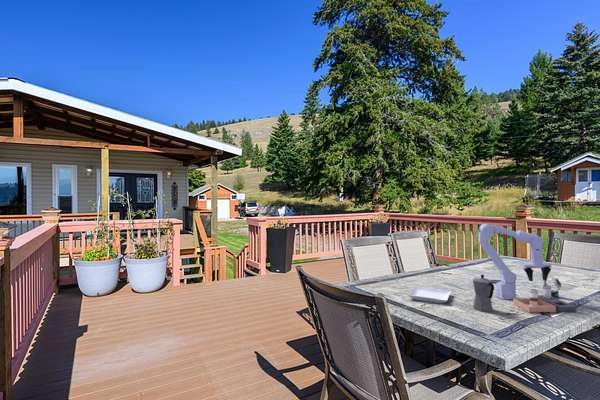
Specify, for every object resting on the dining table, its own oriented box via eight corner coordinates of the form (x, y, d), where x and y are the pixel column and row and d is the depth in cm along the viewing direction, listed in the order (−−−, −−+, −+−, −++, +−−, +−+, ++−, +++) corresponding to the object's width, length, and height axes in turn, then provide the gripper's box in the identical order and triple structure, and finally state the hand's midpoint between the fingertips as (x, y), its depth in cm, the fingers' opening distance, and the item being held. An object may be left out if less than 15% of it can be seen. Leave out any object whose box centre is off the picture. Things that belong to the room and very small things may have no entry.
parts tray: (529, 312, 172) (529, 306, 172) (513, 304, 185) (513, 298, 185) (555, 312, 171) (555, 306, 171) (538, 303, 185) (538, 298, 185)
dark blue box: (559, 299, 192) (559, 279, 192) (542, 296, 198) (542, 277, 198) (562, 297, 195) (562, 278, 195) (546, 294, 201) (545, 275, 201)
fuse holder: (559, 311, 172) (559, 306, 172) (533, 299, 192) (533, 295, 192) (576, 311, 172) (576, 306, 172) (548, 299, 192) (548, 295, 192)
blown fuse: (532, 308, 176) (532, 291, 176) (527, 306, 180) (527, 289, 180) (540, 308, 176) (539, 291, 176) (535, 306, 180) (534, 289, 180)
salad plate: (452, 295, 204) (452, 290, 204) (447, 306, 186) (447, 299, 186) (415, 291, 215) (415, 285, 215) (407, 300, 196) (407, 294, 196)
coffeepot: (466, 305, 185) (466, 272, 185) (483, 304, 186) (482, 271, 186) (485, 315, 170) (484, 279, 169) (502, 314, 170) (502, 278, 170)
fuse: (546, 303, 185) (545, 286, 185) (541, 301, 189) (541, 285, 189) (553, 303, 185) (552, 286, 185) (548, 301, 189) (548, 285, 189)
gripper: (527, 258, 189) (529, 283, 189) (554, 257, 188) (556, 281, 188) (520, 256, 196) (521, 280, 196) (546, 255, 195) (547, 278, 195)
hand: (537, 280), depth 192 cm, fingers open, 7 cm apart
